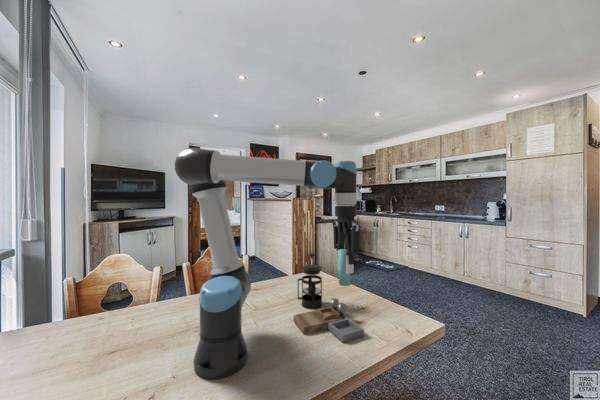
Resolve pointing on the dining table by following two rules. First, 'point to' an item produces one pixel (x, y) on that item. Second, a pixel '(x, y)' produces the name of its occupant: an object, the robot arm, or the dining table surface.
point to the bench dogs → (339, 307)
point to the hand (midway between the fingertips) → (345, 271)
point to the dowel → (343, 268)
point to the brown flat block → (316, 320)
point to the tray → (345, 330)
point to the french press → (311, 286)
